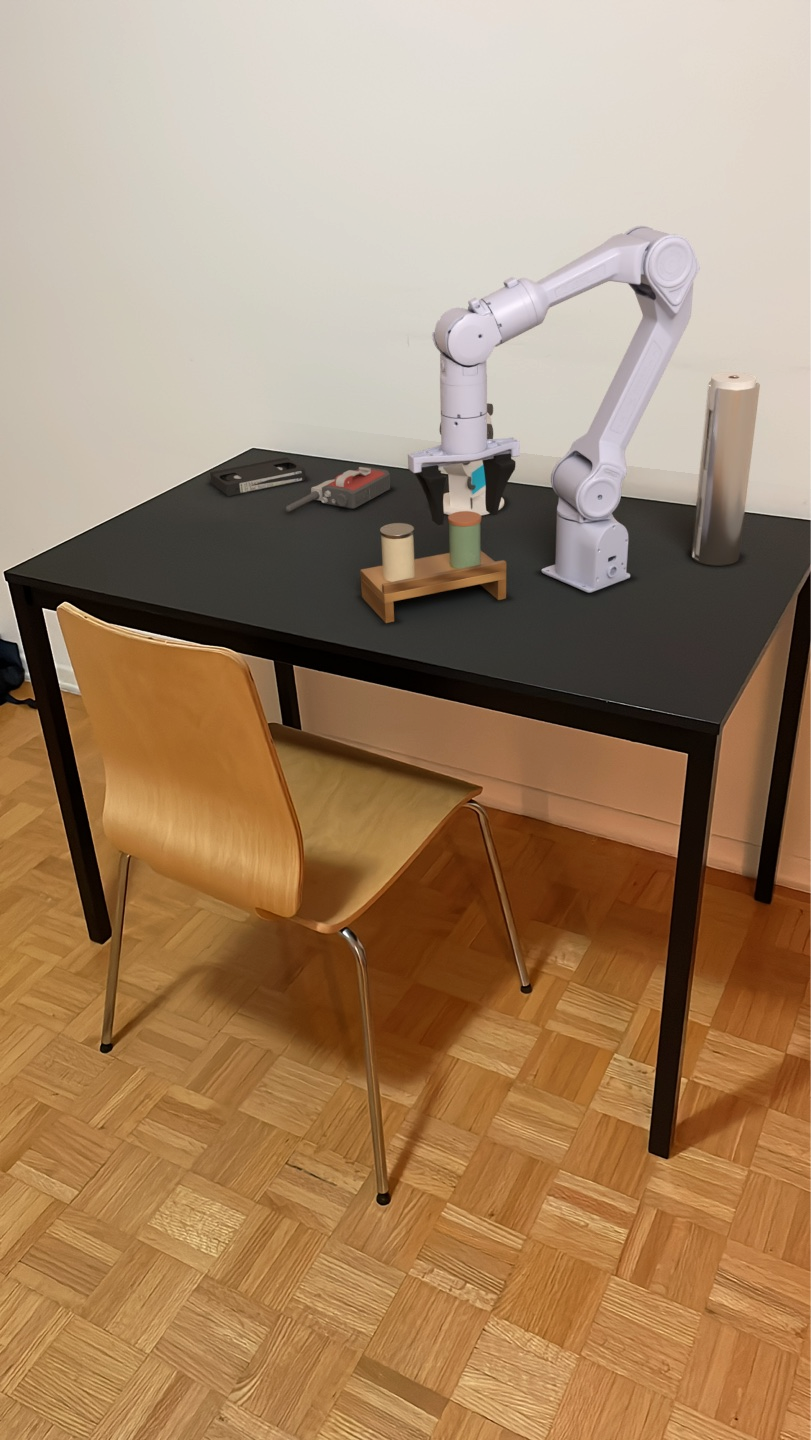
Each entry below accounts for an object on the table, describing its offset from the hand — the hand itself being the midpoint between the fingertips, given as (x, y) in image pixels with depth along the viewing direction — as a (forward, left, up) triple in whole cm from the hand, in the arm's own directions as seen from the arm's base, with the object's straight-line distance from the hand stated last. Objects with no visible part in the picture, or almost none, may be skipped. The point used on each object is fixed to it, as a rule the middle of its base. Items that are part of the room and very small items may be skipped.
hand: (465, 517), depth 147 cm
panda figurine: (+26, -22, -11) cm, 35 cm away
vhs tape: (+59, -3, -11) cm, 60 cm away
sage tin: (0, 0, -6) cm, 6 cm away
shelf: (+1, +4, -10) cm, 11 cm away
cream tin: (+2, +9, -6) cm, 11 cm away
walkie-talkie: (+41, -8, -11) cm, 43 cm away
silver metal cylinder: (-14, -34, -11) cm, 38 cm away
